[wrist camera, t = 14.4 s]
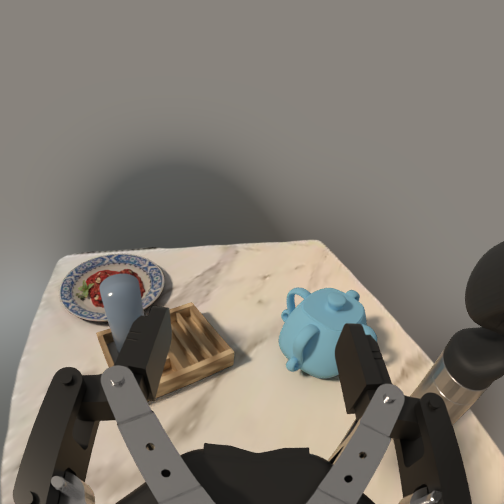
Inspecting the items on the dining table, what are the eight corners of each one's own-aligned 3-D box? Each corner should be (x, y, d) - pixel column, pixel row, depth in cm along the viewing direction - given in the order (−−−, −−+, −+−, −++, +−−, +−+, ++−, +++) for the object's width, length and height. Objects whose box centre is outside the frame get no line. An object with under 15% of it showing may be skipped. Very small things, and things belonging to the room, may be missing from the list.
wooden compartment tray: (192, 315, 59) (191, 302, 57) (233, 364, 49) (234, 352, 47) (100, 345, 48) (96, 332, 46) (127, 408, 38) (122, 397, 36)
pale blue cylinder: (144, 337, 50) (131, 269, 43) (157, 359, 46) (144, 291, 39) (114, 347, 47) (95, 280, 39) (125, 371, 43) (105, 303, 36)
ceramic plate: (164, 258, 77) (163, 248, 76) (166, 326, 56) (165, 315, 54) (74, 262, 70) (72, 253, 69) (50, 328, 49) (45, 317, 47)
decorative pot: (362, 389, 46) (393, 336, 39) (273, 382, 47) (289, 326, 40) (351, 329, 60) (372, 276, 53) (278, 320, 61) (290, 264, 54)
